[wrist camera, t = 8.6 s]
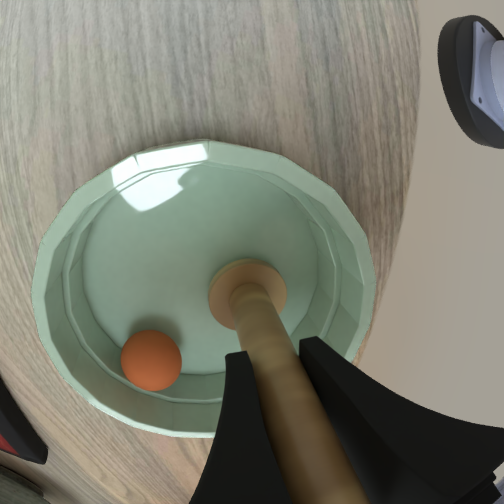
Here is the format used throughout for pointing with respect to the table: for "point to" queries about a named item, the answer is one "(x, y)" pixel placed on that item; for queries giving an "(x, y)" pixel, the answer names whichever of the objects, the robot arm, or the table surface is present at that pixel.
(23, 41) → the table surface
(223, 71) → the table surface
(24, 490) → the bowl
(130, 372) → the ball
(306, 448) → the stick
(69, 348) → the mixing bowl
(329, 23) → the table surface
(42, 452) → the notebook
